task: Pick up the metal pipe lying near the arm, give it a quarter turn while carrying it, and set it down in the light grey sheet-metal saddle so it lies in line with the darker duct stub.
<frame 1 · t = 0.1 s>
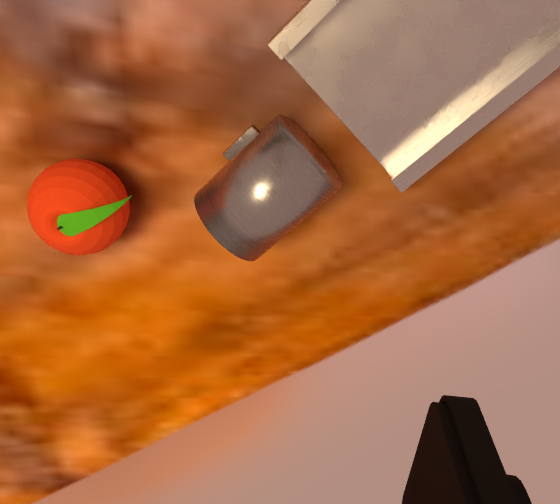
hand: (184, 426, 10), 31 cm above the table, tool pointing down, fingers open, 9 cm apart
cradle: (453, 5, 35), on the table
duct stub: (271, 171, 40), on the table
clementine: (103, 186, 42), on the table
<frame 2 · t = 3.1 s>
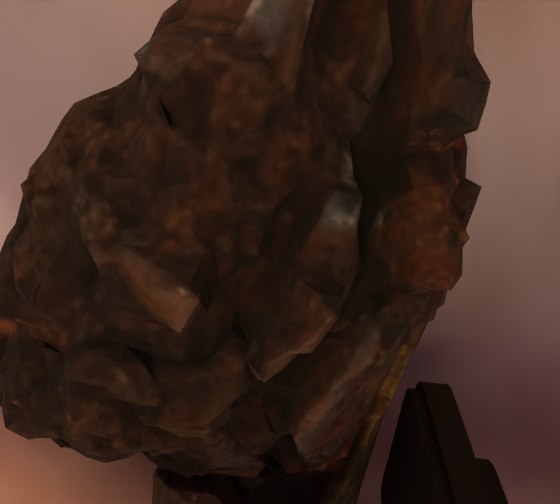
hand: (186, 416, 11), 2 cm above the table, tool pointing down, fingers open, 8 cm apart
metal pipe: (240, 346, 13), on the table, touching gripper
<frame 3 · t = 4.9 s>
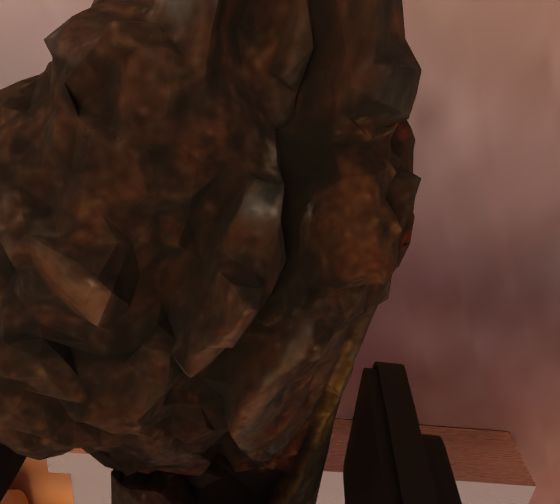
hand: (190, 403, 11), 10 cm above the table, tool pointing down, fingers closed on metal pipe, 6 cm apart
metal pipe: (206, 343, 13), point 8 cm above the table, touching gripper
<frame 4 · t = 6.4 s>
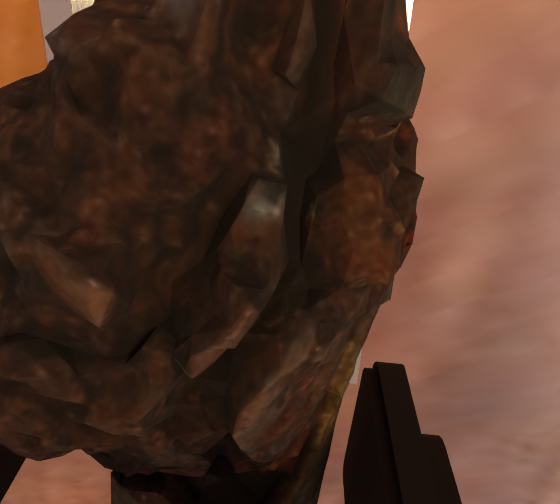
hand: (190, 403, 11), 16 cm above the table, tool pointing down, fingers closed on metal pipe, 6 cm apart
cradle: (232, 165, 25), on the table
metal pipe: (206, 343, 13), point 14 cm above the table, touching gripper
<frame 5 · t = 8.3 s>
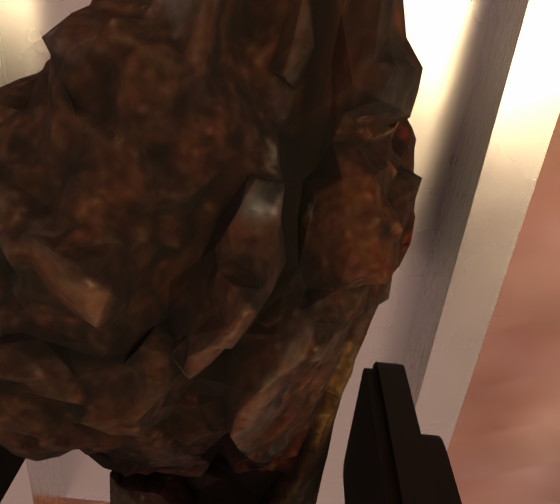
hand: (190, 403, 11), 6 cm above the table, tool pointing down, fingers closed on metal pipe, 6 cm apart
cradle: (230, 263, 16), on the table
metal pipe: (205, 343, 13), point 4 cm above the table, touching gripper
when the fingers open (4 cm above the table, at t = 9.6 s): metal pipe drops 1 cm, resting on cradle.
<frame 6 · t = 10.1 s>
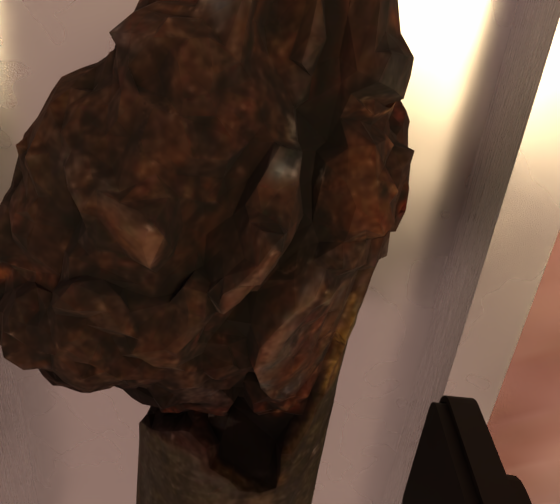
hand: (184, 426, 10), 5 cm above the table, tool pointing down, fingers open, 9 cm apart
cradle: (220, 291, 15), on the table
metal pipe: (220, 313, 14), point 1 cm above the table, touching cradle
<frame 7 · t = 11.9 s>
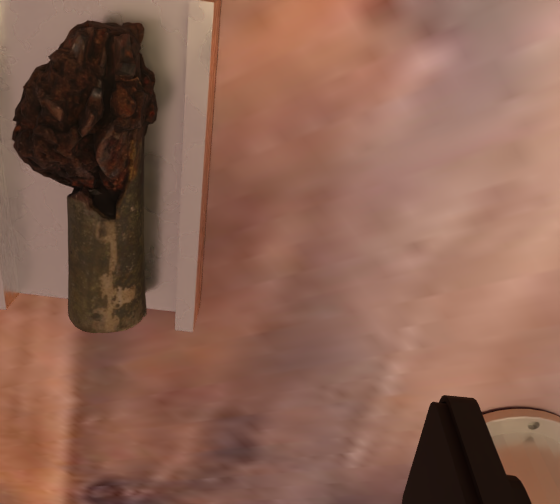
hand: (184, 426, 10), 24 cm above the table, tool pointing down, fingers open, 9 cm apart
cradle: (100, 160, 33), on the table
metal pipe: (107, 170, 33), point 1 cm above the table, touching cradle
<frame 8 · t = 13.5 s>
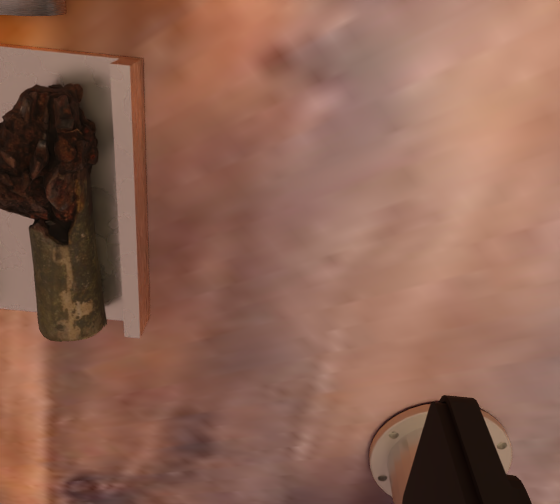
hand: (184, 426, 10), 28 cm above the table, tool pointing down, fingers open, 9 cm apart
cradle: (55, 193, 39), on the table
metal pipe: (66, 202, 38), point 1 cm above the table, touching cradle
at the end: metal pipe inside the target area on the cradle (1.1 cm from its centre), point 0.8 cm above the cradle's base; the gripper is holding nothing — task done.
